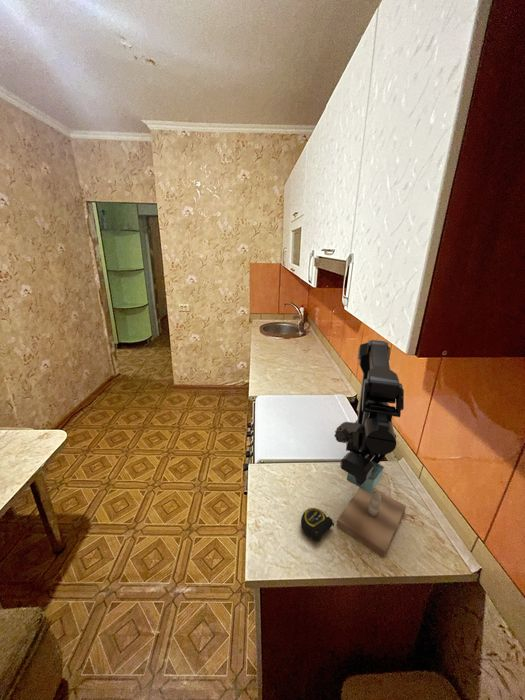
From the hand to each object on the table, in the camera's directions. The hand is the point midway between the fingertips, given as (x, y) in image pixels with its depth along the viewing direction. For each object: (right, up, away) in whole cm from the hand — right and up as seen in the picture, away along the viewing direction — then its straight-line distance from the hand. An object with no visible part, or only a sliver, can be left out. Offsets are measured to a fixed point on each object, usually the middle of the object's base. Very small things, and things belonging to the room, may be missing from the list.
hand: (364, 476), depth 75 cm
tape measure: (-12, -13, 0) cm, 18 cm away
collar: (0, -1, 0) cm, 1 cm away
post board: (+3, -12, +3) cm, 13 cm away
